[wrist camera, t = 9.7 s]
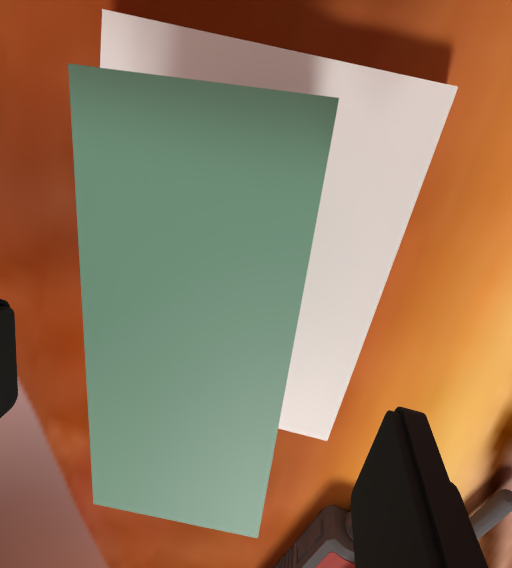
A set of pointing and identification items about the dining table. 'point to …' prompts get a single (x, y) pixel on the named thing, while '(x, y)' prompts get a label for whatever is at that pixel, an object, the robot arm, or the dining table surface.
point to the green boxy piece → (191, 283)
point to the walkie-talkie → (339, 537)
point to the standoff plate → (336, 188)
